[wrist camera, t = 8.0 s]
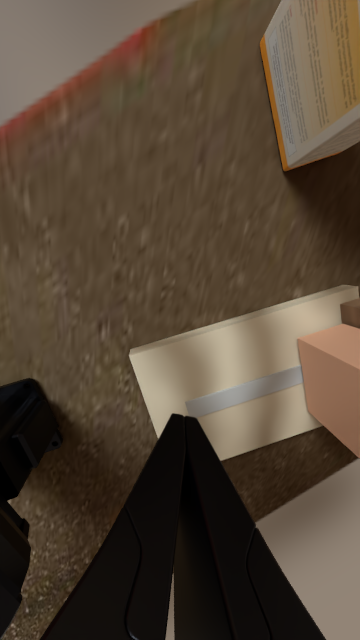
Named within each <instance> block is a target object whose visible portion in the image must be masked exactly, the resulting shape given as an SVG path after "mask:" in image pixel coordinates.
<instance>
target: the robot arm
mask: <svg viewBox="0 0 360 640" xmlns="http://www.w3.org/2000/svg"><path fill="white" fill-rule="evenodd" d="M26 384H29V385H30V387H27V386H26ZM54 441H57V442H58V443H55V442H54ZM62 442H63V438H62V436H61V434H60V432H59V430H58V424H57V422H56V420H55V418H54V416H53V414H52V412H51V410H50V408H49V405H48V403H47V402H46V401H45V400H44V399H43V397H42V395H41V393H40V390H39V388H38V386H37V384H36V382H35V381H34V380H33V379H30V378H27V379H23V380H20V381H17V382H13V383H10V384H7V385H3V386H0V640H1V638H2V637H3V635H4V634H5V632H6V631H7V629H8V628H9V626H10V624H11V622H12V620H13V618H14V616H15V614H16V613H17V611H18V609H19V607H20V604H21V601H22V595H21V588H22V585H23V582H24V579H25V576H26V573H27V570H28V568H29V563H30V552H31V547H30V544H29V542H28V533H29V526H30V525H29V523H28V522H27V521H26V520H25V519H24V518H23V519H22V518H21V517H20V516H19V515H18V514H17V512H16V511H15V510H14V509H13V508H12V507H11V505H10V504H9V503H8V502H7V500H10V499H13V498H15V497H17V496H18V494H19V493H20V491H21V489H22V487H23V485H24V483H25V482H26V480H27V478H28V476H29V474H30V472H31V471H32V469H34V468H36V467H37V466H38V464H39V462H40V460H41V458H42V456H43V455H44V453H45V452H48V451H51V450H54V449H57V448H59V447H60V446H61V444H62ZM255 527H256V524H255V522H254V521H253V519H252V517H251V515H250V513H249V511H248V510H247V508H246V506H245V504H244V502H243V501H242V499H241V497H240V495H239V493H238V492H237V490H236V488H235V486H234V484H233V482H232V481H231V479H230V477H229V475H228V473H227V472H226V470H225V468H224V466H223V464H222V463H221V461H220V459H219V457H218V455H217V453H216V452H215V450H214V448H213V446H212V444H211V443H210V441H209V439H208V437H207V435H206V434H205V432H204V430H203V428H202V426H201V424H200V423H199V421H198V419H197V418H196V417H192V416H183V415H181V414H176V413H172V414H171V416H170V418H169V420H168V422H167V424H166V426H165V428H164V429H163V431H162V433H161V435H160V437H159V439H158V441H157V443H156V445H155V447H154V449H153V450H152V452H151V454H150V456H149V458H148V460H147V462H146V464H145V466H144V468H143V470H142V471H141V473H140V475H139V477H138V479H137V481H136V483H135V485H134V487H133V489H132V491H131V492H130V494H129V496H128V498H127V500H126V502H125V504H124V507H123V508H122V509H121V511H120V513H119V515H118V517H117V519H116V521H115V523H114V524H113V526H112V528H111V530H110V532H109V533H108V535H107V537H106V539H105V540H104V542H103V544H102V546H101V547H100V549H99V551H98V552H97V554H96V555H95V557H94V559H93V560H92V562H91V563H90V565H89V566H88V568H87V570H86V571H85V573H84V574H83V576H82V577H81V579H80V580H79V582H78V583H77V585H76V586H75V588H74V589H73V591H72V592H71V594H70V595H69V597H68V598H67V600H66V601H65V603H64V604H63V606H62V607H61V609H60V610H59V612H58V613H57V615H56V616H55V618H54V619H53V621H52V622H51V624H50V625H49V627H48V628H47V630H46V631H45V633H44V634H43V636H42V637H41V639H40V640H165V637H166V628H167V620H168V610H169V601H170V592H171V583H172V574H173V565H174V629H175V630H174V632H175V640H326V639H325V637H324V636H323V634H322V633H321V631H320V629H319V628H318V626H317V625H316V623H315V622H314V620H313V619H312V617H311V616H310V614H309V613H308V611H307V610H306V608H305V606H304V605H303V603H302V602H301V600H300V599H299V597H298V595H297V594H296V592H295V591H294V589H293V587H292V586H291V584H290V583H289V581H288V580H287V578H286V576H285V575H284V573H283V572H282V570H281V568H280V566H279V565H278V563H277V561H276V560H275V558H274V556H273V554H272V553H271V551H270V549H269V547H268V546H267V544H266V542H265V540H264V539H263V537H262V535H261V533H260V531H259V529H258V528H255Z"/></svg>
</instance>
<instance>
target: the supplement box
mask: <svg viewBox="0 0 360 640" xmlns="http://www.w3.org/2000/svg"><path fill="white" fill-rule="evenodd" d="M260 49H261V56H262V60H263V66H264V70H265V76H266V82H267V86H268V92H269V98H270V103H271V107H272V114H273V119H274V124H275V129H276V134H277V140H278V145H279V150H280V156H281V161H282V166H283V170H284V171H288V170H291V169H294V168H297V167H300V166H303V165H306V164H308V163H311V162H314V161H318V160H320V159H323V158H326V157H330V156H332V155H337V154H339V153H340V152H342V151H344V150H346V149H347V148H349V147H351V146H353V145H354V144H356V143H358V142H360V0H282V1H281V3H280V5H279V7H278V9H277V11H276V12H275V14H274V16H273V18H272V20H271V22H270V24H269V26H268V28H267V30H266V32H265V34H264V36H263V38H262V40H261V42H260Z"/></svg>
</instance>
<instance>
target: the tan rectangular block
mask: <svg viewBox="0 0 360 640" xmlns="http://www.w3.org/2000/svg"><path fill="white" fill-rule="evenodd" d="M298 345H299V352H300V359H301V366H302V372H303V379H304V386H305V393H306V399H307V406H308V412H310V413H311V414H312V415H313V416H314V417H315V418H316V419H317V420H318V421H319V422H320V423H322V424H323V425H324V426H325V427H326V428H327V429H328V430H329V431H330V432H331V433H332V434H333V435H335V436H336V437H337V438H338V439H339V440H340V441H341V442H342V443H343V444H344V445H345V446H347V447H348V448H349V449H350V450H351V451H352V452H353V453H354V454H355V455H356V456H357V457H359V458H360V329H359V328H355V327H352V326H349V325H346V324H341V325H337V326H334V327H331V328H328V329H325V330H322V331H318V332H315V333H312V334H309V335H306V336H303V337H299V338H298Z"/></svg>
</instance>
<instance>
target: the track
mask: <svg viewBox="0 0 360 640" xmlns="http://www.w3.org/2000/svg"><path fill="white" fill-rule="evenodd" d="M341 324H346V325H349V326H352V327H355V328H359V329H360V298H359V293H358V286H351V285H341V286H337V287H334V288H331V289H327V290H324V291H321V292H318V293H314V294H311V295H308V296H304V297H301V298H298V299H295V300H291V301H288V302H285V303H281V304H278V305H275V306H271V307H268V308H265V309H262V310H258V311H255V312H252V313H248V314H245V315H242V316H239V317H235V318H232V319H229V320H225V321H222V322H219V323H215V324H212V325H209V326H206V327H202V328H199V329H196V330H192V331H189V332H186V333H183V334H179V335H176V336H173V337H169V338H166V339H163V340H159V341H156V342H153V343H150V344H146V345H143V346H140V347H136V348H133V349H130V355H129V357H130V360H131V363H132V366H133V368H134V371H135V374H136V377H137V380H138V383H139V385H140V388H141V391H142V394H143V397H144V400H145V402H146V405H147V408H148V411H149V414H150V417H151V419H152V422H153V425H154V428H155V431H156V434H157V436H158V439H159V437H160V435H161V433H162V431H163V429H164V428H165V426H166V424H167V422H168V420H169V418H170V416H171V414H172V413H176V414H181V415H183V416H192V417H196V418H197V419H198V421H199V423H200V424H201V426H202V428H203V430H204V432H205V434H206V435H207V437H208V439H209V441H210V443H211V444H212V446H213V448H214V450H215V452H216V453H217V455H218V457H219V459H220V461H222V460H225V459H228V458H231V457H234V456H236V455H239V454H242V453H245V452H248V451H251V450H254V449H257V448H260V447H263V446H265V445H268V444H271V443H274V442H277V441H280V440H283V439H286V438H289V437H292V436H294V435H297V434H300V433H303V432H306V431H309V430H312V429H315V428H318V427H321V426H324V425H323V424H322V423H320V422H319V421H318V420H317V419H316V418H315V417H314V416H313V415H312V414H311V413H310V412H308V406H307V399H306V393H305V386H304V379H303V372H302V366H301V359H300V352H299V345H298V338H299V337H303V336H306V335H309V334H312V333H315V332H318V331H322V330H325V329H328V328H331V327H334V326H337V325H341Z"/></svg>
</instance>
